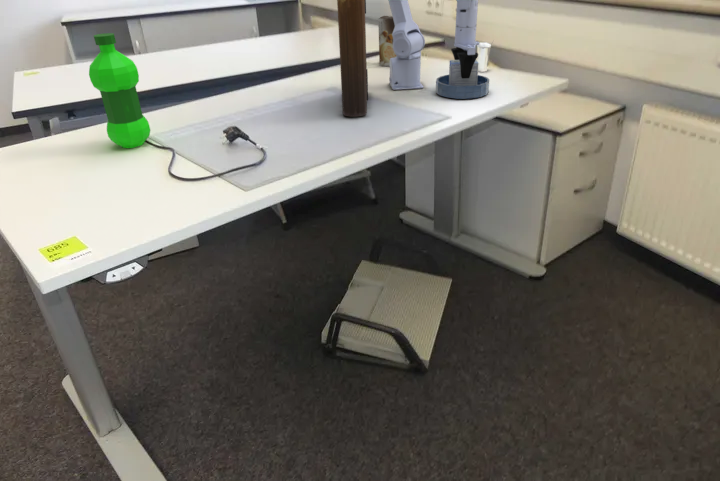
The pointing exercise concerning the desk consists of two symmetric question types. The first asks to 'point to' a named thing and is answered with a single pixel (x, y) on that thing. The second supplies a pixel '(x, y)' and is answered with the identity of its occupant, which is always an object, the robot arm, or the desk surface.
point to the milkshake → (483, 56)
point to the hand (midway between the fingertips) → (463, 75)
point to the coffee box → (386, 40)
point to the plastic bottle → (119, 93)
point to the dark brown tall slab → (353, 56)
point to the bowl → (462, 88)
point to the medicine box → (455, 74)
